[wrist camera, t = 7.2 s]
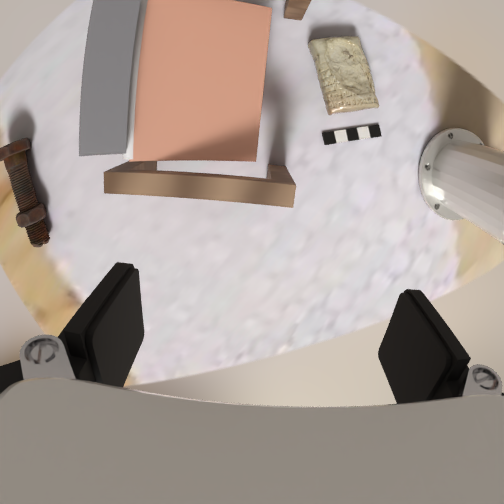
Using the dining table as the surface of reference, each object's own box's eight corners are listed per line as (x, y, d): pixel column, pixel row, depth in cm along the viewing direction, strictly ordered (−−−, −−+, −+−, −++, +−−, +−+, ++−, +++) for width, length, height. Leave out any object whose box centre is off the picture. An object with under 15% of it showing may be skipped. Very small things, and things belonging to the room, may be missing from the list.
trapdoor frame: (302, 6, 28) (318, -29, 19) (283, 182, 37) (293, 207, 28) (156, 1, 28) (124, -30, 18) (141, 172, 37) (104, 193, 27)
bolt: (51, 234, 42) (24, 141, 36) (63, 236, 40) (34, 134, 33) (21, 251, 38) (-10, 154, 31) (31, 255, 35) (-3, 148, 29)
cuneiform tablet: (381, 136, 34) (355, 45, 32) (394, 132, 30) (365, 31, 27) (324, 145, 35) (299, 51, 32) (332, 141, 30) (303, 37, 28)
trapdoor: (259, 14, 26) (281, 3, 22) (245, 156, 33) (264, 165, 29) (100, 3, 20) (96, -15, 16) (86, 159, 27) (79, 168, 23)
